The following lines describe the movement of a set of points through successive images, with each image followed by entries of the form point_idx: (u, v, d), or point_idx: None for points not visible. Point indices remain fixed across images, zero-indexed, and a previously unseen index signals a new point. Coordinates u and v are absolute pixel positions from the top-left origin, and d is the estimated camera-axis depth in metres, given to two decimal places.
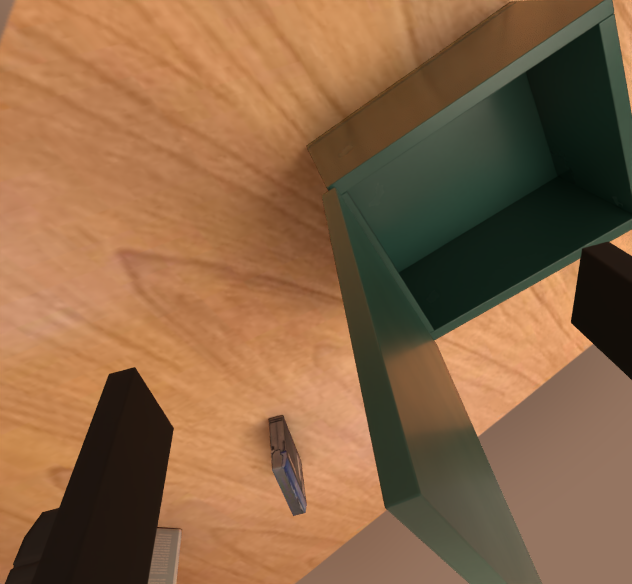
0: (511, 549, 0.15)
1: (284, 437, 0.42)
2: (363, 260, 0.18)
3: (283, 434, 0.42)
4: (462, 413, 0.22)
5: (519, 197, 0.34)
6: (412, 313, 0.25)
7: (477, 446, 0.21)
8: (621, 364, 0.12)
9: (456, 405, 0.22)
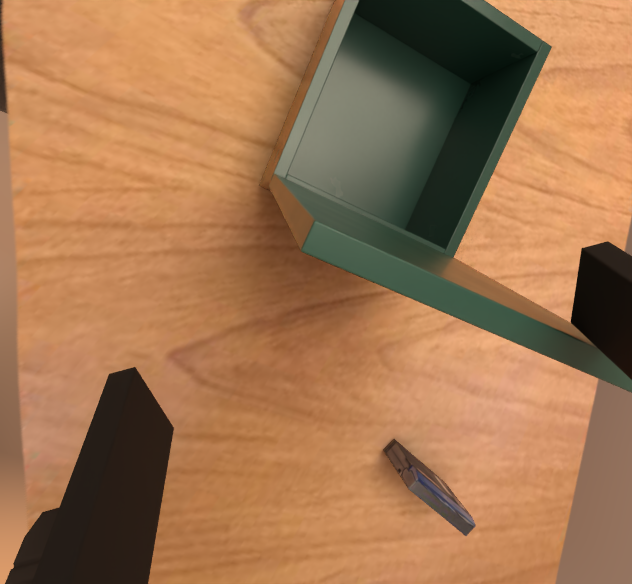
0: (546, 318, 0.15)
1: (404, 455, 0.39)
2: (302, 191, 0.21)
3: (402, 453, 0.40)
4: (487, 279, 0.22)
5: (453, 118, 0.36)
6: (403, 235, 0.26)
7: (512, 292, 0.21)
8: (621, 363, 0.12)
9: (473, 272, 0.22)
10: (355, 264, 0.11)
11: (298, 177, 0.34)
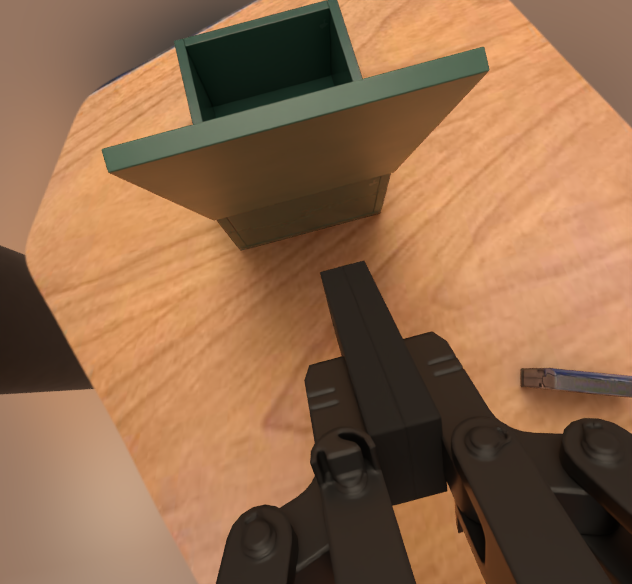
0: None
1: (535, 369, 0.34)
2: None
3: (533, 370, 0.35)
4: None
5: None
6: None
7: None
8: None
9: None
10: (145, 154, 0.15)
11: None
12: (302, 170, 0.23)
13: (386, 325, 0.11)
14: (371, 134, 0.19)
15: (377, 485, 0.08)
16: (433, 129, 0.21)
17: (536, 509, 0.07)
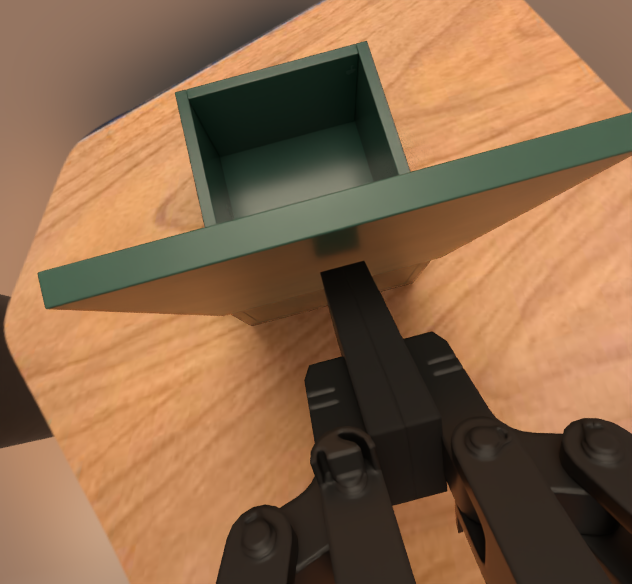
0: None
1: None
2: None
3: None
4: None
5: (362, 153, 0.36)
6: None
7: None
8: None
9: None
10: (105, 281, 0.09)
11: None
12: None
13: (386, 325, 0.11)
14: (438, 230, 0.14)
15: (377, 485, 0.08)
16: None
17: (536, 509, 0.07)
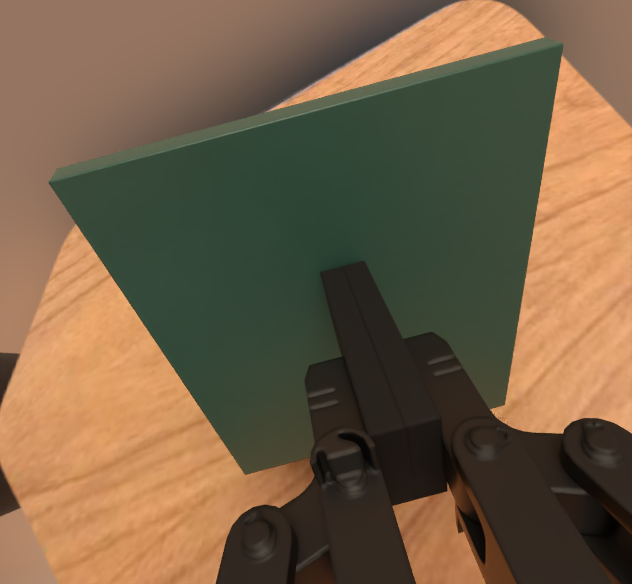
0: None
1: None
2: None
3: None
4: None
5: None
6: None
7: None
8: None
9: None
10: (103, 163, 0.11)
11: None
12: None
13: (387, 325, 0.11)
14: (431, 219, 0.14)
15: (377, 485, 0.08)
16: (529, 247, 0.15)
17: (536, 509, 0.07)
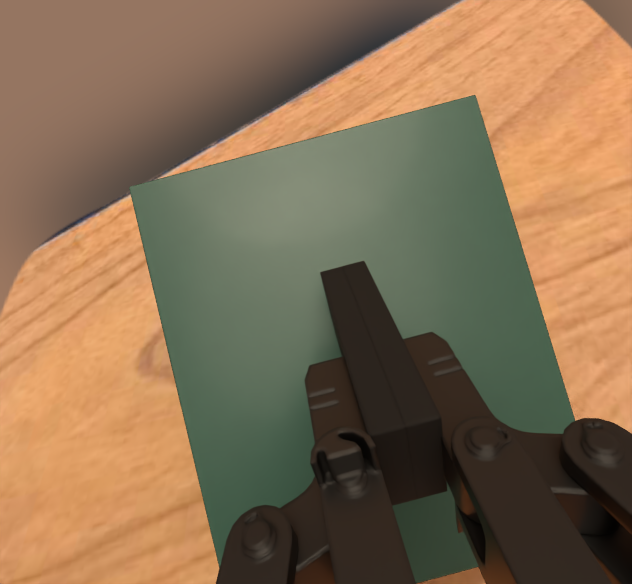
0: None
1: None
2: None
3: None
4: None
5: None
6: None
7: None
8: None
9: None
10: None
11: None
12: None
13: (386, 325, 0.11)
14: (415, 225, 0.16)
15: (377, 485, 0.08)
16: (523, 258, 0.16)
17: (535, 508, 0.07)
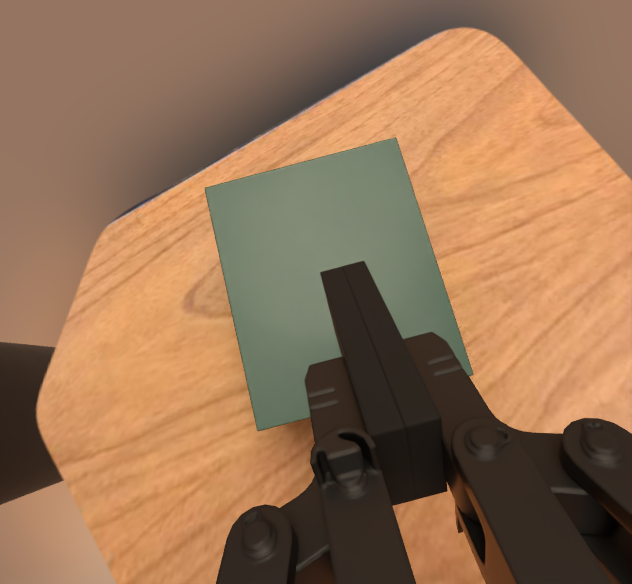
0: None
1: None
2: None
3: None
4: None
5: None
6: None
7: None
8: None
9: None
10: None
11: None
12: (329, 268, 0.28)
13: (387, 325, 0.11)
14: (362, 206, 0.29)
15: (377, 485, 0.08)
16: (423, 223, 0.28)
17: (535, 509, 0.07)
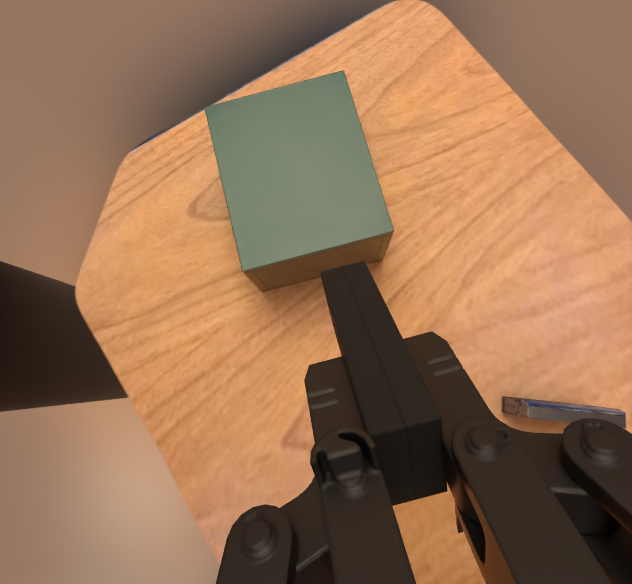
0: None
1: (513, 398, 0.41)
2: None
3: (511, 399, 0.41)
4: None
5: None
6: None
7: None
8: None
9: None
10: None
11: None
12: (294, 161, 0.39)
13: (387, 325, 0.11)
14: (318, 118, 0.40)
15: (377, 485, 0.08)
16: (361, 130, 0.39)
17: (535, 509, 0.07)
